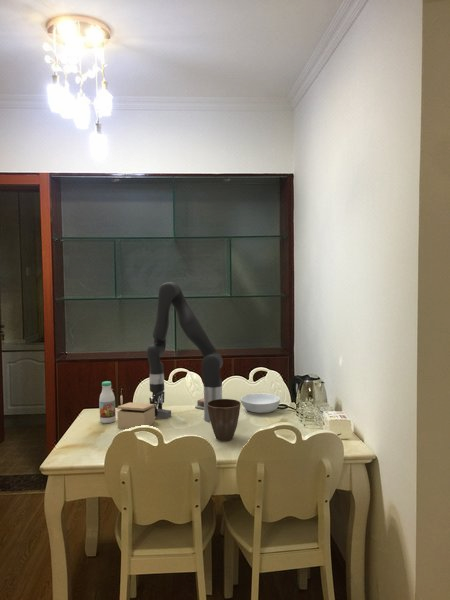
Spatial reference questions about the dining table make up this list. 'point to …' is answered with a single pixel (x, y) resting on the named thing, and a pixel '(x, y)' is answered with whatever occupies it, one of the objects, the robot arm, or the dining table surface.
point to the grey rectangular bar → (163, 413)
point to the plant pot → (224, 417)
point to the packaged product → (200, 404)
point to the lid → (136, 406)
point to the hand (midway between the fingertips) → (157, 413)
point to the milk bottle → (107, 404)
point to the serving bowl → (260, 402)
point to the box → (135, 417)
